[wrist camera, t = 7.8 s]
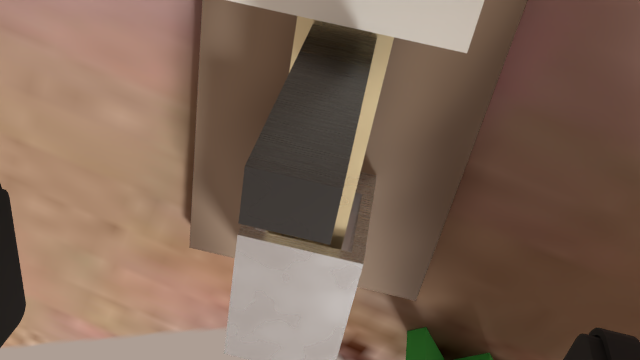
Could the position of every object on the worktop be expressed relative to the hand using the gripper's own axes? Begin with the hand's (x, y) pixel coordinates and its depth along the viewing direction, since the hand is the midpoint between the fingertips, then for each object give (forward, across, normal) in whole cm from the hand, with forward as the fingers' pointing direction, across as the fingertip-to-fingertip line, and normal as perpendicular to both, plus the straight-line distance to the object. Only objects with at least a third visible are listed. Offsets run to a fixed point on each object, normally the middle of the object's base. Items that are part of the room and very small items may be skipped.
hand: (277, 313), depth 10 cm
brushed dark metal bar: (+14, +1, +2) cm, 14 cm away
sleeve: (+16, +1, +11) cm, 19 cm away
